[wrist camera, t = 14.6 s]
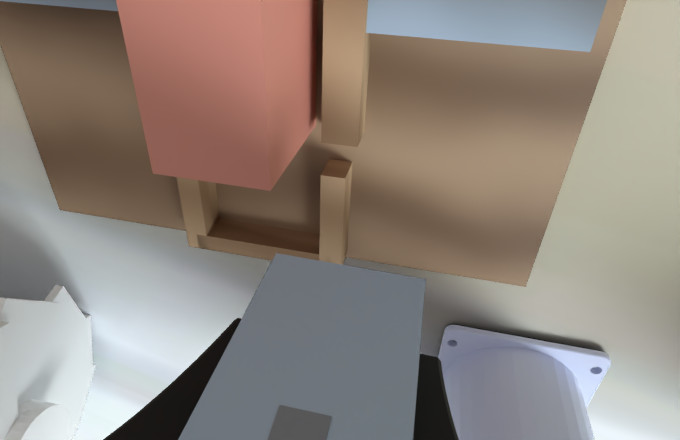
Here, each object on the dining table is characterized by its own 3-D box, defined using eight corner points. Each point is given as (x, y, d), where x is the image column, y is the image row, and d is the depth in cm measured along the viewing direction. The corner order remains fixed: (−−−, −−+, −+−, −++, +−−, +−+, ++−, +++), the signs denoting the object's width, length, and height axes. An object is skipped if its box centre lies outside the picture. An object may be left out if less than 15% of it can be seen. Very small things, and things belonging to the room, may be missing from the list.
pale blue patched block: (405, 377, 14) (381, 596, 10) (279, 351, 15) (202, 547, 10) (425, 278, 12) (407, 505, 7) (276, 252, 12) (173, 447, 8)
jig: (524, 278, 21) (529, 309, 20) (67, 204, 25) (39, 225, 23) (761, -408, 10) (823, -475, 8) (-126, -357, 14) (-209, -396, 12)
